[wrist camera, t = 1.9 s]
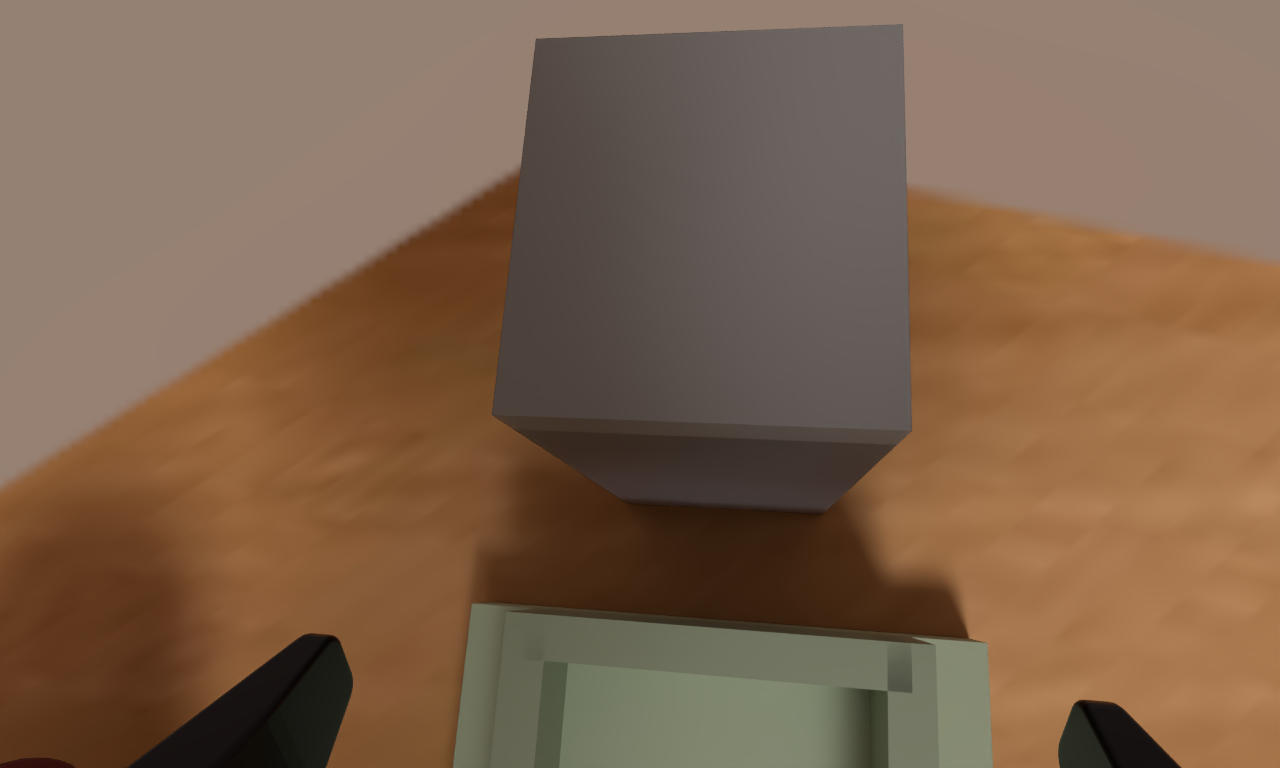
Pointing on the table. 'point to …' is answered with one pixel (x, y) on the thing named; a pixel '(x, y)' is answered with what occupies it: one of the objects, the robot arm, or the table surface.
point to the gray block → (713, 265)
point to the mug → (36, 763)
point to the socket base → (714, 694)
